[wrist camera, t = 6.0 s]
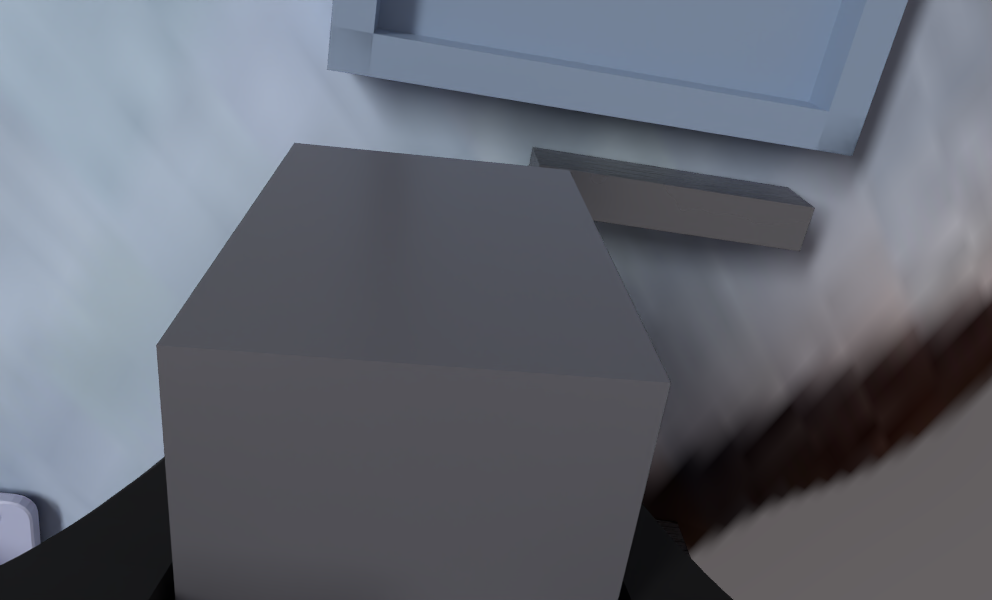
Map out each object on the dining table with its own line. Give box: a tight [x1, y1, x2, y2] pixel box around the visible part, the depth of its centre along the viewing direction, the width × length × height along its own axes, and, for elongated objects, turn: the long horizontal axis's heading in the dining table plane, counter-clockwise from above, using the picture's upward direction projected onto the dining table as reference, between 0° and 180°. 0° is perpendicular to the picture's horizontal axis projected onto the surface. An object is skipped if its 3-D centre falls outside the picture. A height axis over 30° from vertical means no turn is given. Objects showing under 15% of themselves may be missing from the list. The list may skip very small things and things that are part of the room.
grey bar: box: [156, 143, 671, 600], centre depth 11 cm, size 4×8×6 cm, turn 173°
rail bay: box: [529, 147, 815, 558], centre depth 19 cm, size 6×11×2 cm, turn 170°
